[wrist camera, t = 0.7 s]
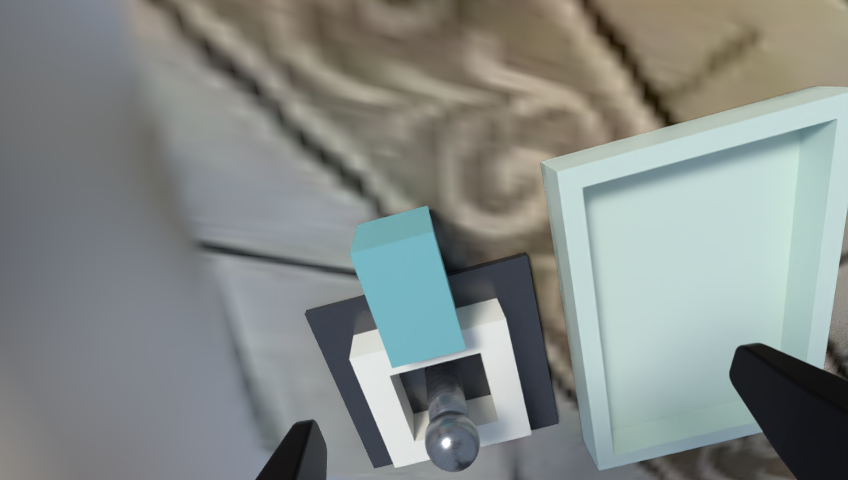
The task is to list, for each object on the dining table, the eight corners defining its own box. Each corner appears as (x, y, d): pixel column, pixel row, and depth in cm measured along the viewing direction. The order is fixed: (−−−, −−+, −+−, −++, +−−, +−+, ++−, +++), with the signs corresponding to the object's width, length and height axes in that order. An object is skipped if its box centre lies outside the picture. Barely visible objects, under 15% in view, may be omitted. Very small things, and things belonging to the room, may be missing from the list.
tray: (783, 392, 26) (815, 419, 24) (583, 440, 27) (598, 470, 25) (814, 86, 19) (865, 87, 17) (540, 161, 19) (556, 171, 17)
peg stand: (556, 418, 26) (602, 519, 20) (374, 462, 26) (367, 573, 20) (524, 252, 21) (573, 319, 15) (306, 310, 22) (272, 396, 16)
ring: (521, 407, 25) (540, 458, 21) (395, 438, 25) (394, 493, 22) (472, 193, 19) (487, 216, 16) (313, 236, 20) (296, 268, 17)
